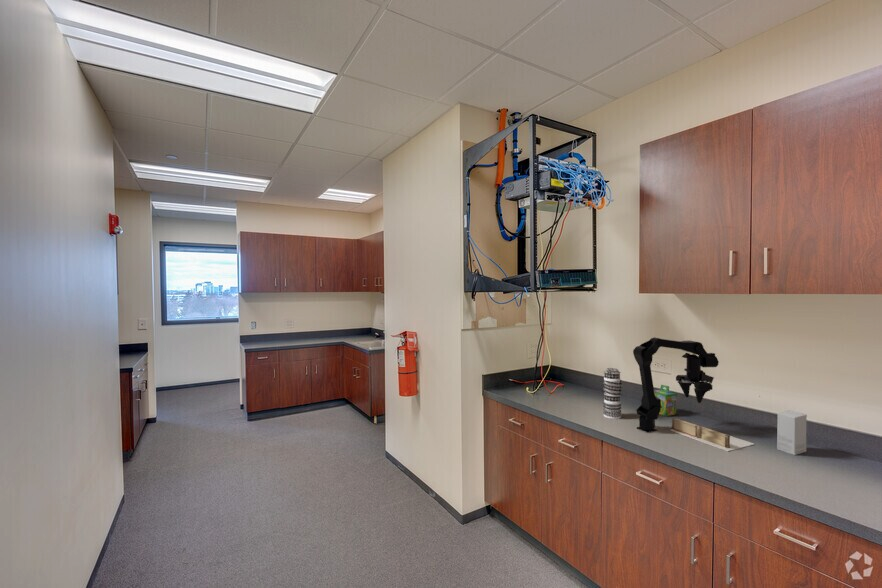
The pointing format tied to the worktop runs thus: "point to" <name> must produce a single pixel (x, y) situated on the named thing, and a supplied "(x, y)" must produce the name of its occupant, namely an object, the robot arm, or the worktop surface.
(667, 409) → the chalk box
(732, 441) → the fence post and layout card
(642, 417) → the robot arm
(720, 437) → the folding fence panel
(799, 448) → the skincare box
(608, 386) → the decorative candle
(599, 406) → the worktop surface
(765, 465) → the worktop surface
